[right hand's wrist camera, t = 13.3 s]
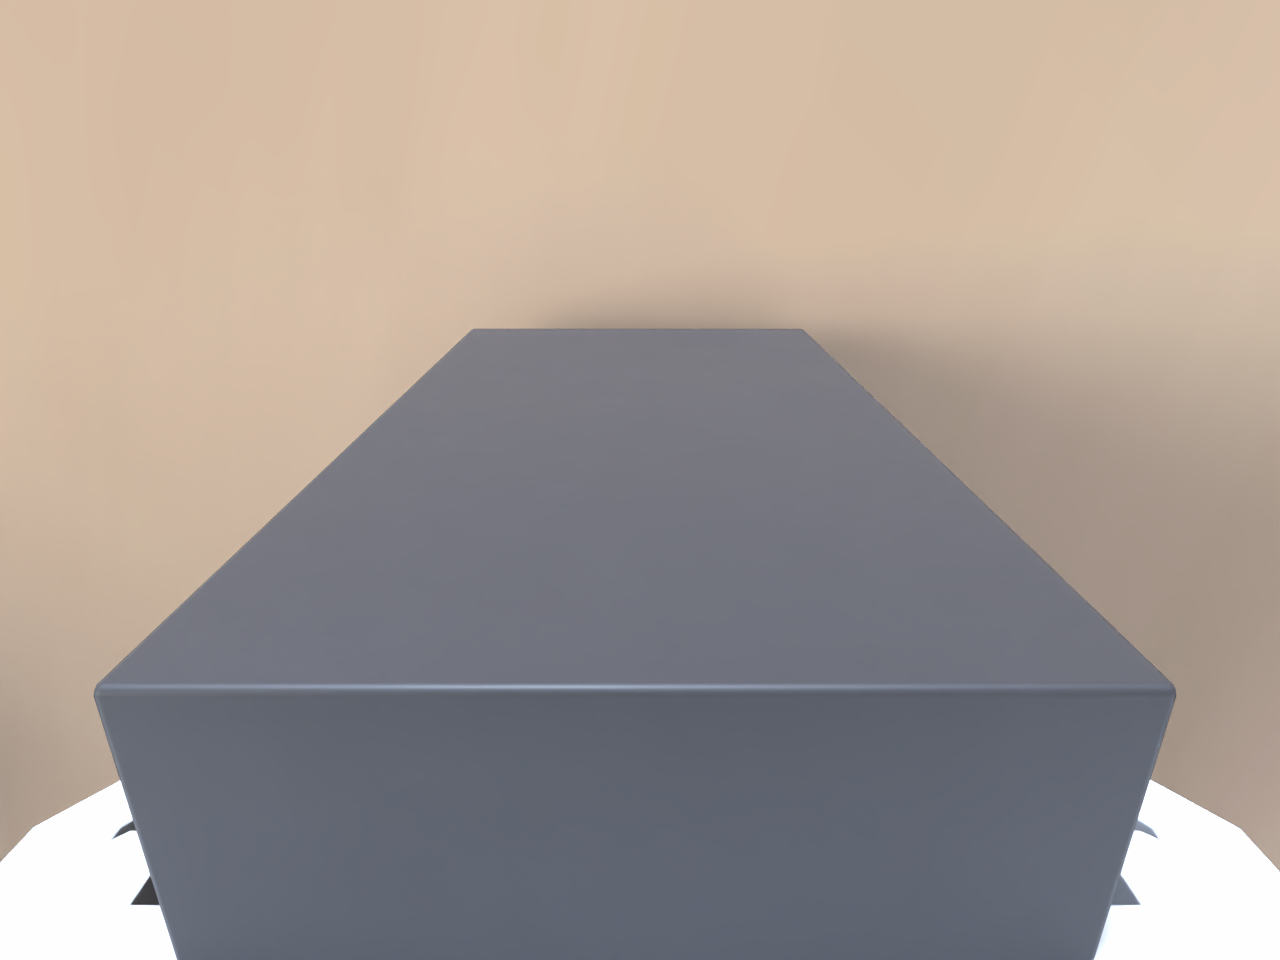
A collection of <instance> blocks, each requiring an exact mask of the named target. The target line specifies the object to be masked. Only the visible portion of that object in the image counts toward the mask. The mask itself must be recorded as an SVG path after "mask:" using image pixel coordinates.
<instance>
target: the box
mask: <svg viewBox="0 0 1280 960" xmlns="http://www.w3.org/2000/svg"><path fill="white" fill-rule="evenodd" d="M94 698H95V702H96V705H97V708H98V711H99V714H100V717H101V721H102V724H103V727H104V730H105V733H106V736H107V740H108V743H109V746H110V749H111V752H112V756H113V759H114V762H115V765H116V768H117V771H118V775H119V778H120V781H121V784H122V787H123V790H124V794H125V797H126V800H127V803H128V806H129V809H130V813H131V816H132V819H133V822H134V825H135V829H136V832H137V835H138V838H139V841H140V844H141V848H142V851H143V854H144V857H145V860H146V863H147V867H148V870H149V873H150V876H151V879H152V882H153V886H154V889H155V892H156V895H157V898H158V902H159V905H160V908H161V911H162V914H163V917H164V921H165V924H166V927H167V930H168V933H169V936H170V940H171V943H172V946H173V949H174V952H175V955H176V959H177V960H1094V958H1095V955H1096V951H1097V948H1098V945H1099V942H1100V939H1101V935H1102V932H1103V929H1104V926H1105V923H1106V919H1107V916H1108V913H1109V910H1110V907H1111V903H1112V900H1113V897H1114V894H1115V891H1116V887H1117V884H1118V881H1119V878H1120V874H1121V871H1122V868H1123V865H1124V862H1125V858H1126V855H1127V852H1128V849H1129V846H1130V842H1131V839H1132V836H1133V833H1134V830H1135V826H1136V823H1137V820H1138V817H1139V814H1140V810H1141V807H1142V804H1143V801H1144V798H1145V794H1146V791H1147V788H1148V785H1149V781H1150V778H1151V775H1152V772H1153V769H1154V765H1155V762H1156V759H1157V756H1158V753H1159V749H1160V746H1161V743H1162V740H1163V737H1164V733H1165V730H1166V727H1167V724H1168V721H1169V717H1170V714H1171V711H1172V708H1173V705H1174V701H1175V698H1176V690H1175V687H1174V685H1173V684H1172V683H1171V682H1170V681H1169V680H1168V679H1167V678H1166V677H1165V676H1164V675H1163V674H1162V673H1161V672H1160V671H1159V670H1158V669H1157V668H1156V667H1154V666H1153V665H1152V664H1151V663H1150V662H1149V661H1148V660H1147V659H1146V658H1145V657H1144V656H1143V655H1142V654H1141V653H1140V652H1139V651H1138V650H1137V649H1136V648H1135V647H1134V646H1133V645H1132V644H1130V643H1129V642H1128V641H1127V640H1126V639H1125V638H1124V637H1123V636H1122V635H1121V634H1120V633H1119V632H1118V631H1117V630H1116V629H1115V628H1114V627H1113V626H1112V625H1111V624H1110V623H1109V622H1108V621H1106V620H1105V619H1104V618H1103V617H1102V616H1101V615H1100V614H1099V613H1098V612H1097V611H1096V610H1095V609H1094V608H1093V607H1092V606H1091V605H1090V604H1089V603H1088V602H1087V601H1086V600H1085V599H1084V598H1082V597H1081V596H1080V595H1079V594H1078V593H1077V592H1076V591H1075V590H1074V589H1073V588H1072V587H1071V586H1070V585H1069V584H1068V583H1067V582H1066V581H1065V580H1064V579H1063V578H1062V577H1061V576H1060V575H1058V574H1057V573H1056V572H1055V571H1054V570H1053V569H1052V568H1051V567H1050V566H1049V565H1048V564H1047V563H1046V562H1045V561H1044V560H1043V559H1042V558H1041V557H1040V556H1039V555H1038V554H1037V553H1036V552H1034V551H1033V550H1032V549H1031V548H1030V547H1029V546H1028V545H1027V544H1026V543H1025V542H1024V541H1023V540H1022V539H1021V538H1020V537H1019V536H1018V535H1017V534H1016V533H1015V532H1014V531H1013V530H1012V529H1010V528H1009V527H1008V526H1007V525H1006V524H1005V523H1004V522H1003V521H1002V520H1001V519H1000V518H999V517H998V516H997V515H996V514H995V513H994V512H993V511H992V510H991V509H990V508H989V507H988V506H986V505H985V504H984V503H983V502H982V501H981V500H980V499H979V498H978V497H977V496H976V495H975V494H974V493H973V492H972V491H971V490H970V489H969V488H968V487H967V486H966V485H965V484H964V483H962V482H961V481H960V480H959V479H958V478H957V477H956V476H955V475H954V474H953V473H952V472H951V471H950V470H949V469H948V468H947V467H946V466H945V465H944V464H943V463H942V462H941V461H940V460H938V459H937V458H936V457H935V456H934V455H933V454H932V453H931V452H930V451H929V450H928V449H927V448H926V447H925V446H924V445H923V444H922V443H921V442H920V441H919V440H918V439H917V438H915V437H914V436H913V435H912V434H911V433H910V432H909V431H908V430H907V429H906V428H905V427H904V426H903V425H902V424H901V423H900V422H899V421H898V420H897V419H896V418H895V417H894V416H893V415H891V414H890V413H889V412H888V411H887V410H886V409H885V408H884V407H883V406H882V405H881V404H880V403H879V402H878V401H877V400H876V399H875V398H874V397H873V396H872V395H871V394H870V393H869V392H867V391H866V390H865V389H864V388H863V387H862V386H861V385H860V384H859V383H858V382H857V381H856V380H855V379H854V378H853V377H852V376H851V375H850V374H849V373H848V372H847V371H846V370H845V369H843V368H842V367H841V366H840V365H839V364H838V363H837V362H836V361H835V360H834V359H833V358H832V357H831V356H830V355H829V354H828V353H827V352H826V351H825V350H824V349H823V348H822V347H821V346H819V345H818V344H817V343H816V342H815V341H814V340H813V339H812V338H811V337H810V336H809V335H808V334H807V333H806V332H805V331H804V330H802V329H473V330H471V331H470V332H469V333H468V334H467V335H466V336H465V337H464V338H463V339H462V340H461V341H460V342H458V343H457V344H456V345H455V346H454V347H453V348H452V349H451V350H450V351H449V352H448V353H447V354H446V355H445V356H444V357H443V358H442V359H440V360H439V361H438V362H437V363H436V364H435V365H434V366H433V367H432V368H431V369H430V370H429V371H428V372H427V373H426V374H425V375H424V376H423V377H421V378H420V379H419V380H418V381H417V382H416V383H415V384H414V385H413V386H412V387H411V388H410V389H409V390H408V391H407V392H406V393H405V394H403V395H402V396H401V397H400V398H399V399H398V400H397V401H396V402H395V403H394V404H393V405H392V406H391V407H390V408H389V409H388V410H387V411H386V412H384V413H383V414H382V415H381V416H380V417H379V418H378V419H377V420H376V421H375V422H374V423H373V424H372V425H371V426H370V427H369V428H368V429H366V430H365V431H364V432H363V433H362V434H361V435H360V436H359V437H358V438H357V439H356V440H355V441H354V442H353V443H352V444H351V445H350V446H349V447H347V448H346V449H345V450H344V451H343V452H342V453H341V454H340V455H339V456H338V457H337V458H336V459H335V460H334V461H333V462H332V463H331V464H330V465H328V466H327V467H326V468H325V469H324V470H323V471H322V472H321V473H320V474H319V475H318V476H317V477H316V478H315V479H314V480H313V481H312V482H310V483H309V484H308V485H307V486H306V487H305V488H304V489H303V490H302V491H301V492H300V493H299V494H298V495H297V496H296V497H295V498H294V499H293V500H291V501H290V502H289V503H288V504H287V505H286V506H285V507H284V508H283V509H282V510H281V511H280V512H279V513H278V514H277V515H276V516H275V517H273V518H272V519H271V520H270V521H269V522H268V523H267V524H266V525H265V526H264V527H263V528H262V529H261V530H260V531H259V532H258V533H257V534H256V535H254V536H253V537H252V538H251V539H250V540H249V541H248V542H247V543H246V544H245V545H244V546H243V547H242V548H241V549H240V550H239V551H238V552H236V553H235V554H234V555H233V556H232V557H231V558H230V559H229V560H228V561H227V562H226V563H225V564H224V565H223V566H222V567H221V568H220V569H219V570H217V571H216V572H215V573H214V574H213V575H212V576H211V577H210V578H209V579H208V580H207V581H206V582H205V583H204V584H203V585H202V586H201V587H199V588H198V589H197V590H196V591H195V592H194V593H193V594H192V595H191V596H190V597H189V598H188V599H187V600H186V601H185V602H184V603H183V604H182V605H180V606H179V607H178V608H177V609H176V610H175V611H174V612H173V613H172V614H171V615H170V616H169V617H168V618H167V619H166V620H165V621H164V622H163V623H161V624H160V625H159V626H158V627H157V628H156V629H155V630H154V631H153V632H152V633H151V634H150V635H149V636H148V637H147V638H146V639H145V640H143V641H142V642H141V643H140V644H139V645H138V646H137V647H136V648H135V649H134V650H133V651H132V652H131V653H130V654H129V655H128V656H127V657H126V658H124V659H123V660H122V661H121V662H120V663H119V664H118V665H117V666H116V667H115V668H114V669H113V670H112V671H111V672H110V673H109V674H108V675H106V676H105V677H104V678H103V679H102V680H101V681H100V682H99V683H98V684H97V685H96V688H95V690H94Z"/></svg>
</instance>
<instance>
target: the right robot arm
mask: <svg viewBox="0 0 1280 960" xmlns="http://www.w3.org/2000/svg"><path fill="white" fill-rule="evenodd" d="M0 960H177V959H176V955H175V952H174V949H173V946H172V943H171V940H170V936H169V933H168V930H167V927H166V924H165V921H164V917H163V914H162V911H161V908H160V905H159V902H158V898H157V895H156V892H155V889H154V886H153V882H152V879H151V876H150V873H149V870H148V867H147V863H146V860H145V857H144V854H143V851H142V848H141V844H140V841H139V838H138V835H137V832H136V829H135V825H134V822H133V819H132V816H131V813H130V809H129V806H128V803H127V800H126V797H125V794H124V790H123V787H122V784H121V781H119V782H117V783H115V784H113V785H111V786H109V787H107V788H105V789H104V790H102V791H100V792H98V793H96V794H94V795H92V796H91V797H89V798H87V799H85V800H83V801H81V802H79V803H78V804H76V805H74V806H72V807H70V808H68V809H66V810H65V811H63V812H61V813H59V814H57V815H55V816H53V817H52V818H50V819H48V820H46V821H44V822H42V823H40V824H39V825H37V826H35V827H33V828H32V829H31V830H30V832H29V833H28V834H27V835H26V836H25V837H24V838H23V839H22V840H21V841H20V842H19V843H18V844H17V845H16V846H15V848H14V849H13V850H12V851H11V852H10V853H9V854H8V855H7V856H6V857H5V858H4V859H3V860H2V861H1V863H0ZM1094 960H1280V871H1279V870H1278V869H1277V868H1276V867H1275V866H1274V865H1273V864H1272V863H1271V862H1270V861H1269V859H1268V858H1267V857H1266V856H1265V855H1264V854H1263V853H1262V852H1261V851H1260V850H1259V849H1258V847H1257V846H1256V845H1255V844H1254V843H1253V842H1252V841H1251V840H1250V839H1249V838H1248V837H1247V835H1246V834H1245V833H1244V832H1243V831H1242V830H1241V829H1240V828H1238V827H1236V826H1235V825H1233V824H1231V823H1229V822H1227V821H1225V820H1224V819H1222V818H1220V817H1218V816H1216V815H1214V814H1213V813H1211V812H1209V811H1207V810H1205V809H1203V808H1202V807H1200V806H1198V805H1196V804H1194V803H1192V802H1191V801H1189V800H1187V799H1185V798H1183V797H1181V796H1179V795H1178V794H1176V793H1174V792H1172V791H1170V790H1168V789H1167V788H1165V787H1163V786H1161V785H1159V784H1157V783H1156V782H1154V781H1152V780H1150V781H1149V785H1148V788H1147V791H1146V794H1145V798H1144V801H1143V804H1142V807H1141V810H1140V814H1139V817H1138V820H1137V823H1136V826H1135V830H1134V833H1133V836H1132V839H1131V842H1130V846H1129V849H1128V852H1127V855H1126V858H1125V862H1124V865H1123V868H1122V871H1121V874H1120V878H1119V881H1118V884H1117V887H1116V891H1115V894H1114V897H1113V900H1112V903H1111V907H1110V910H1109V913H1108V916H1107V919H1106V923H1105V926H1104V929H1103V932H1102V935H1101V939H1100V942H1099V945H1098V948H1097V951H1096V955H1095V958H1094Z"/></svg>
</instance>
